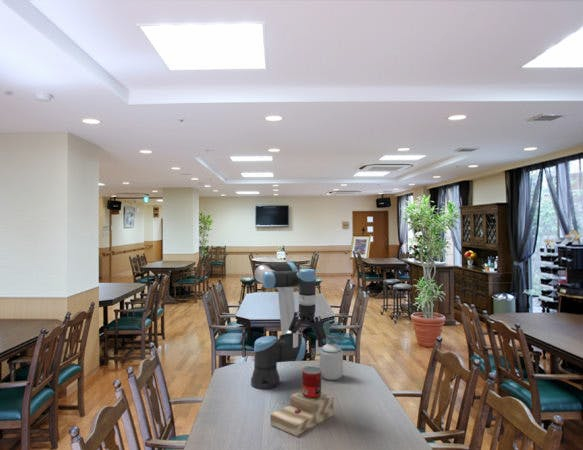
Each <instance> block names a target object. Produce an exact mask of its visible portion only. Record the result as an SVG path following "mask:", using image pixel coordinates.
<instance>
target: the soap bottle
mask: <svg viewBox="0 0 583 450" xmlns="http://www.w3.org/2000/svg"><path fill="white" fill-rule="evenodd" d="M337 320H338V319H331V320H326V321H325V322H323V324H322V326H323V329H324V332H325V334H326V338H327V337H328V338H327V339H328V340H327V341H326V344H324V345H322V347H321V354H319V368H320V369H321V378H324V379H325V380H327V381H337V380H339V379H341V377H343V374H344V351H343V348H342V347H340V346H339V345H338V344H337V341H335V340H334V339H335V338H337V337H339V335H338V334H335V333H331V332H330V331H331V330H330V323H331V322H334V321H337Z"/></svg>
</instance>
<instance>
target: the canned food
mask: <svg viewBox="0 0 583 450" xmlns="http://www.w3.org/2000/svg"><path fill="white" fill-rule="evenodd" d="M302 390H303V396H304V397H306V398H311V399H314V398H318V397H320V395H321V392H322V376H321V369H320V367H317V366H305V367H303V368H302Z"/></svg>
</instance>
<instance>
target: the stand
mask: <svg viewBox="0 0 583 450" xmlns="http://www.w3.org/2000/svg"><path fill="white" fill-rule="evenodd" d="M289 399H290V400H289V402H290V403H289V405H288V406H285V407H283V408H280V409H279V410H277V411H275V412H274V411H273V412H272V413H270V416H269V417H270V421H269V422H270V423H269V424H270V425H271V426H273V427H276V428H277V429H280V430H282V431H284V432H286V433H289V434H290V435H292V436H295V437H296V436H297V437H298V436H299V435H300V434H302V433H304V432H306V431H307V430H309V429H311V428H314V427H315V426H317V425H318V424H320V423H321V422H324V421H325V420H327V419H328V418H330V417H332V416H334V396H333V395H332V394H328V393H325V392H322V391H321V395H320V397H318V398H314V399H311V398H306V397H304V396H303V389H302V390H299V391H298V392H296V393H293V394H291V395H290V398H289Z"/></svg>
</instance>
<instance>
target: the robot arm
mask: <svg viewBox="0 0 583 450" xmlns="http://www.w3.org/2000/svg"><path fill="white" fill-rule="evenodd" d="M253 277H254V279H255V280H256V281H257V282H259V283H261V284H262V286H263V288H265V289H274V288H275V289H277V293H278V294H277V295H278V305H279V306H278V307H279V316H280V318H279V319H280V330H281V331H280V332H281V333H280V334H279V336H278V338H277V336H274V335H265V336H261V337H259V338H256V340H255V341H254V346H253V347H254V348H253V354H254V355H253V357H254V358H253V360H254V361H253V365H254V366H253V372H252V375H251V377H250V385H251V386H252V387H253V388H255V389H259V390H260V389H261V390H262V389H263V390H267V389H274V388H276V387H278V386H280V384H281V378H280V374H279V370H278V367H277V365H278V363H285V362H286V363H288V362H297V361H298V362H299V361H302V360H303V359H304V357H305V354H306V348H307V347H306V339H305V337H303V336H302V334H301V332H299V331H298V330H299V329H300V328H301V327H302V325H306V326H309V327H310V328H311V330H312V332H313V333H314V335H315V337H316V340H315V355H316V356H318V355H320V354H321V348H322V347H323V340H325V339H327V336H326V334H325V332H324V329H323V324H322V321H321V319H322V318H321V316H320V315H318V316H315V313H316V302H317V301H316V300H317V299H316V295H317V294H316V292H317V289H316V285H317V284H316V282H317V275H316V270H315V269H312V268H302V269H297V266H296V265H295V263H293V262H291V261H290V262H289V261H283V262H281V261H279V262H264V263H261V264H260V265H257V266H256V268H255V269H254V272H253ZM294 288H298V311H296V304H295V294H294V293H295V292H294Z"/></svg>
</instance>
